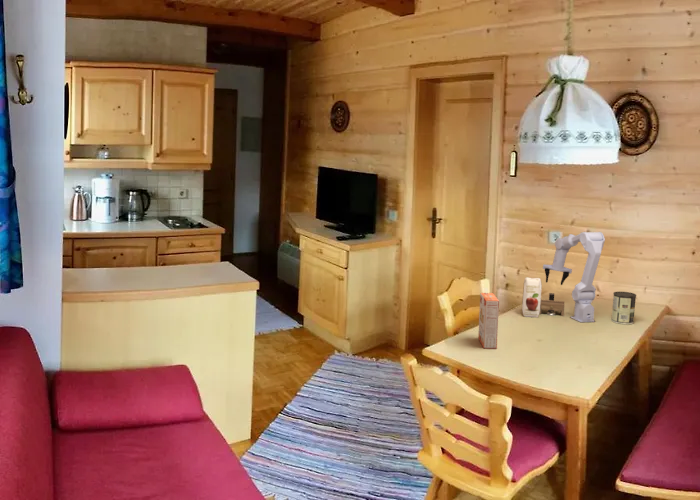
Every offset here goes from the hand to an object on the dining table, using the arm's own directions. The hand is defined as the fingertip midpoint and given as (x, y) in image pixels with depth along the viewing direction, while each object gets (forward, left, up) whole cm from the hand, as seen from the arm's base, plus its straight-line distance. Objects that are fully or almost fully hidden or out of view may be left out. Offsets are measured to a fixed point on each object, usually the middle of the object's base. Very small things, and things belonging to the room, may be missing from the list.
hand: (553, 283), depth 351 cm
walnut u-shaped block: (-14, +9, -13) cm, 21 cm away
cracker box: (-57, +65, -13) cm, 88 cm away
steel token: (-16, +10, -13) cm, 23 cm away
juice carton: (-17, +22, -13) cm, 30 cm away
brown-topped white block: (-5, +3, -13) cm, 14 cm away
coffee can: (-34, -18, -13) cm, 41 cm away
